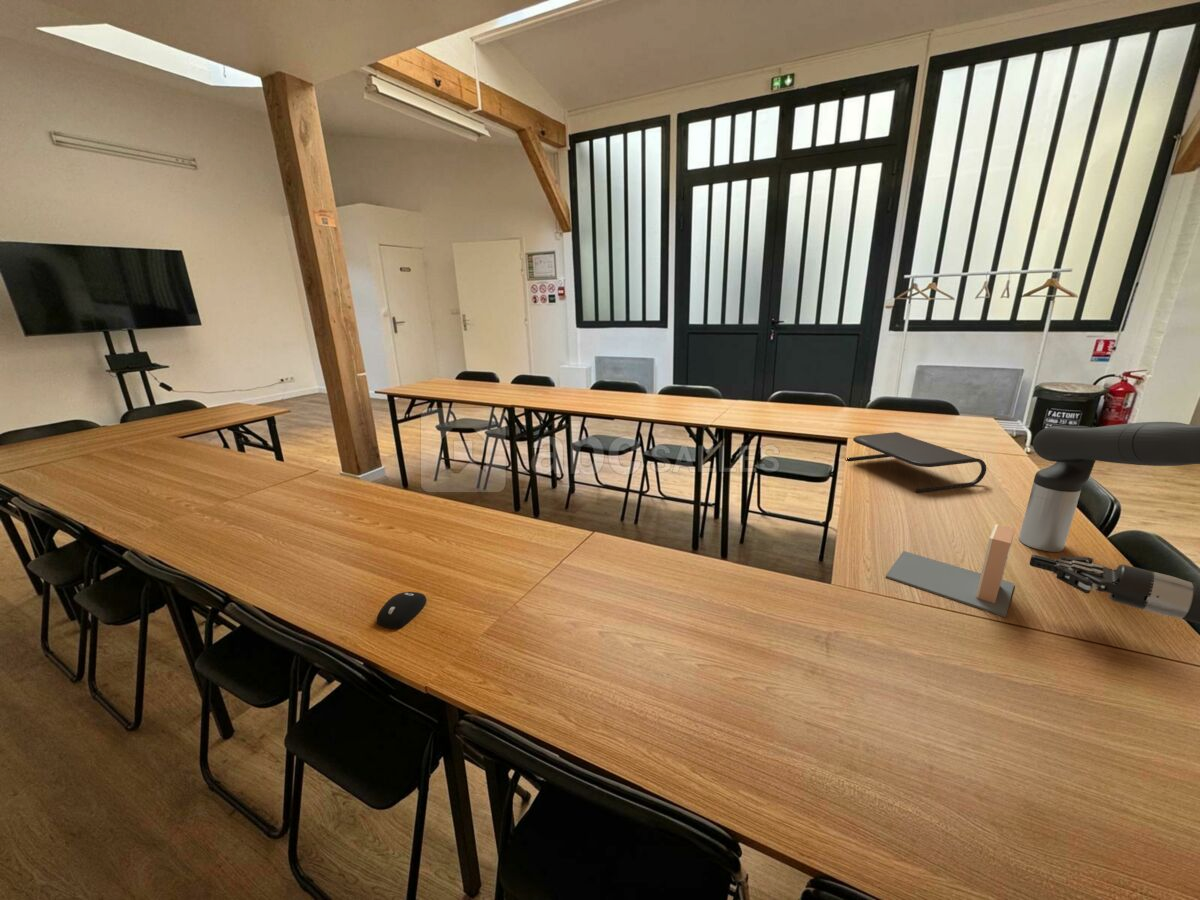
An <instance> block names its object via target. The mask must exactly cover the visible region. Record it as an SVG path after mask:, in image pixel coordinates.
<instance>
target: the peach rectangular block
mask: <svg viewBox="0 0 1200 900" xmlns="http://www.w3.org/2000/svg"><path fill="white" fill-rule="evenodd" d="M1015 531H1016V528H1015V527H1010V526H1006V525H1001V524H997V523H995V524H994V527H993V529H992V532H991V534H990V536H989V538H988V544H987V548H986V551H985V555H984V560H983V563H982V564H983V565H982V568H981V572H980V573H981V576H980V580H979V584H978V588H977V592H976V596H975V597H976V598H979V599H983V600H986V601H989V602H992V603H995V602H996V599H997V595H998V592H999V589H1000V586H1001V582H1002V580H1003V577H1004V574H1005V569H1006V566H1007V561H1008V558H1009V553H1010V550H1011V546H1012V543H1013V539H1014V535H1015Z"/></svg>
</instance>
